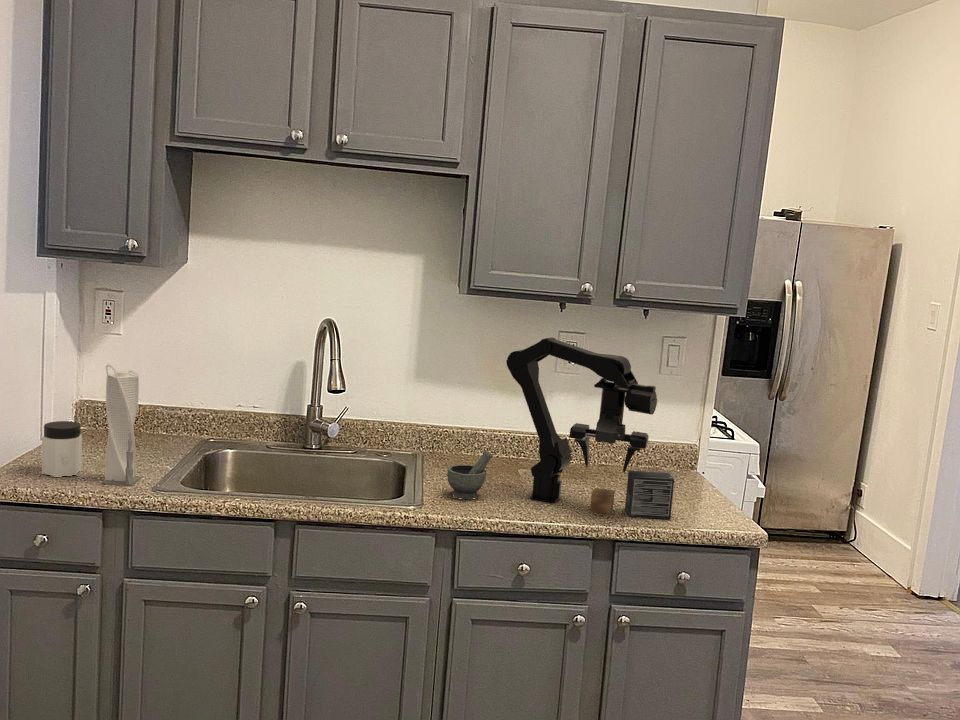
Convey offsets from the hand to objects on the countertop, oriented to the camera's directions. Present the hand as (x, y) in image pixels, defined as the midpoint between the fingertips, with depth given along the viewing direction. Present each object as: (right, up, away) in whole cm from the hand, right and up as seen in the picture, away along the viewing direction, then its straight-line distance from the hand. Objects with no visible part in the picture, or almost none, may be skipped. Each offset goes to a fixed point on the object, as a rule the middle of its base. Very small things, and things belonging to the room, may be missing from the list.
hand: (605, 469), depth 231 cm
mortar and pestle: (-34, -7, +4) cm, 35 cm away
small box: (+11, -12, +2) cm, 16 cm away
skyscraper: (-118, -2, -6) cm, 118 cm away
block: (-1, -11, +2) cm, 11 cm away
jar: (-133, -1, -4) cm, 133 cm away
